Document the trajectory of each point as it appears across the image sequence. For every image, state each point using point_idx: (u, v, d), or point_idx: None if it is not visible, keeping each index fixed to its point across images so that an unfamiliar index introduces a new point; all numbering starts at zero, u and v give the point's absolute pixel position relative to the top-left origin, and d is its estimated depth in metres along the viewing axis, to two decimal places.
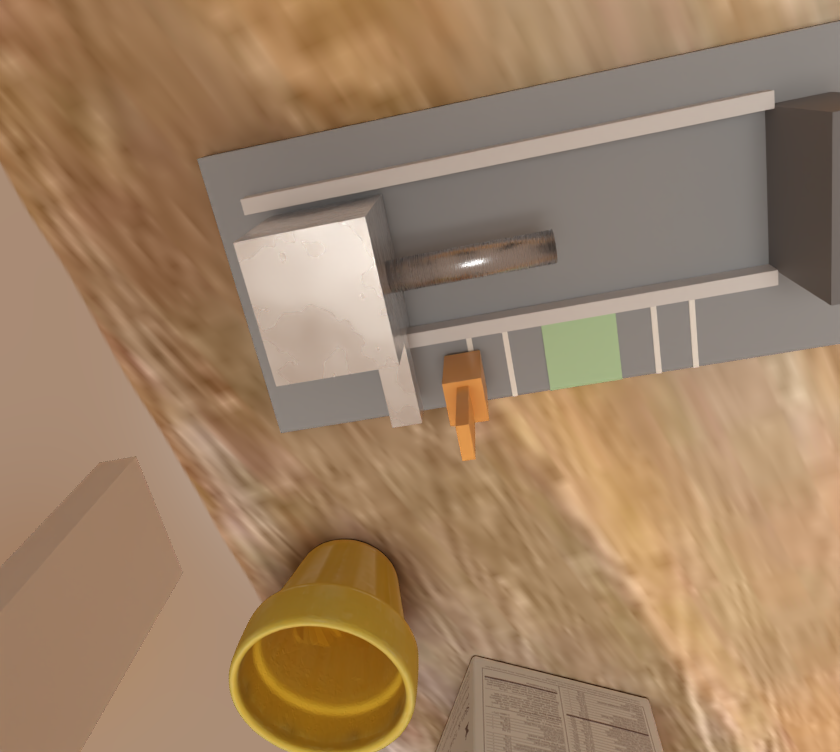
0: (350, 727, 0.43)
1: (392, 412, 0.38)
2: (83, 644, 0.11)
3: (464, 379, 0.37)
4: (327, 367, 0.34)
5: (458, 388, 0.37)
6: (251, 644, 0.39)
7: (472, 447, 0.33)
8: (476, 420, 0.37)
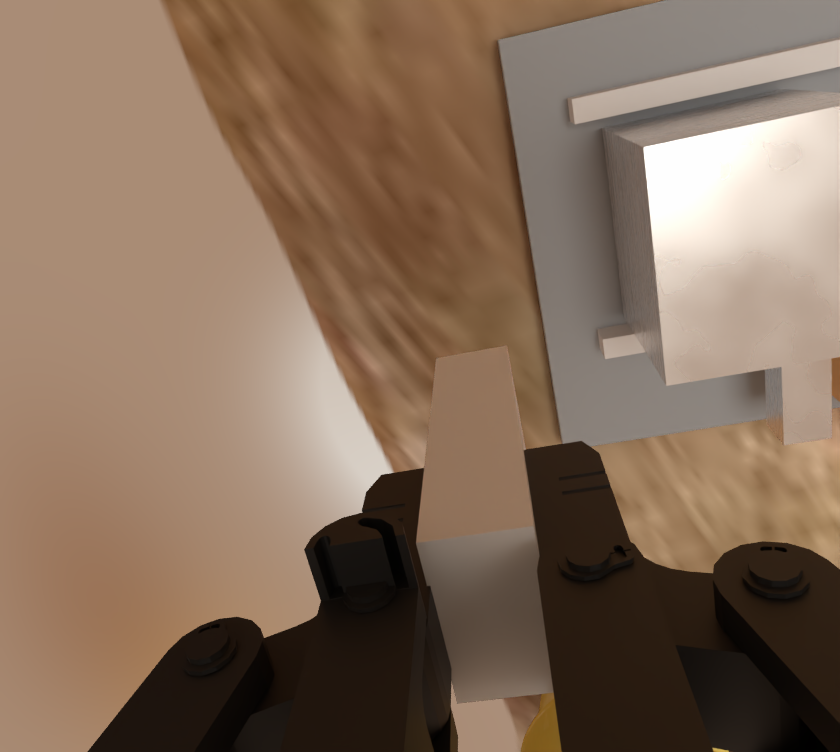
0: None
1: (788, 422, 0.25)
2: None
3: None
4: (758, 354, 0.21)
5: None
6: None
7: None
8: None
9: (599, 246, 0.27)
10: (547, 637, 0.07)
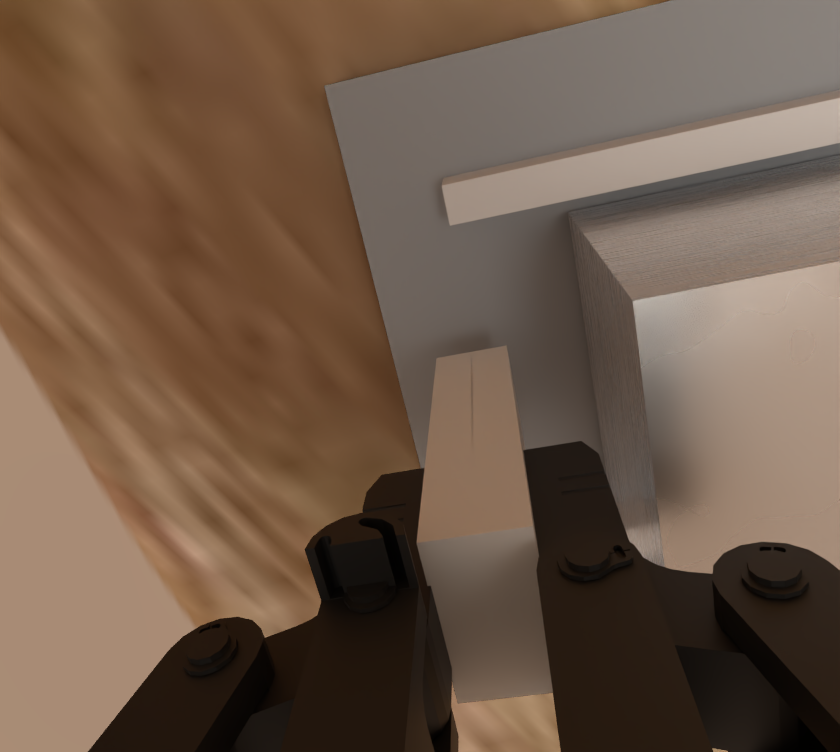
0: None
1: None
2: None
3: None
4: None
5: None
6: None
7: None
8: None
9: None
10: (546, 637, 0.07)
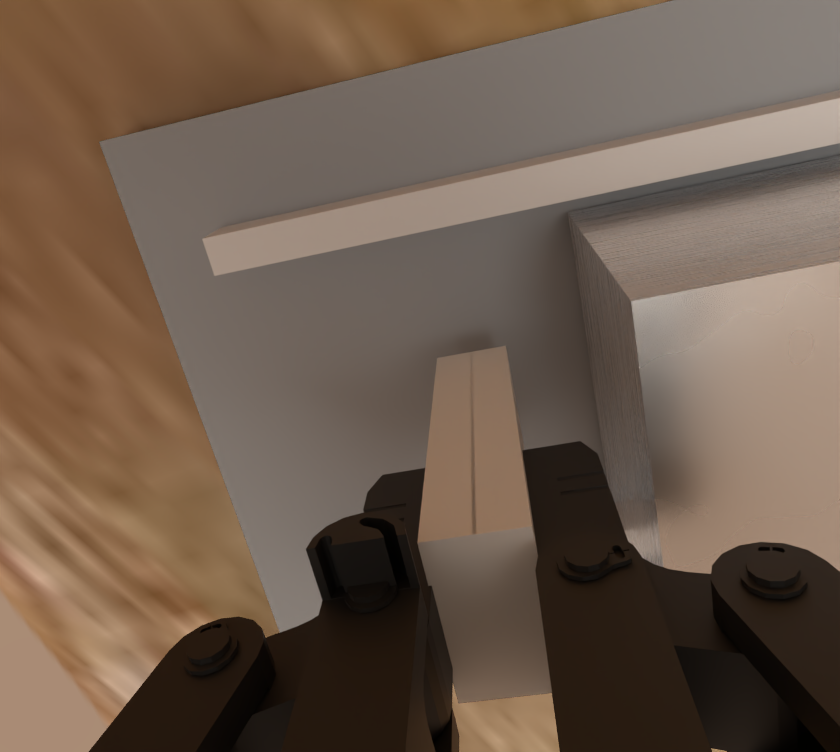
0: None
1: None
2: None
3: None
4: None
5: None
6: None
7: None
8: None
9: (307, 437, 0.18)
10: (545, 637, 0.07)
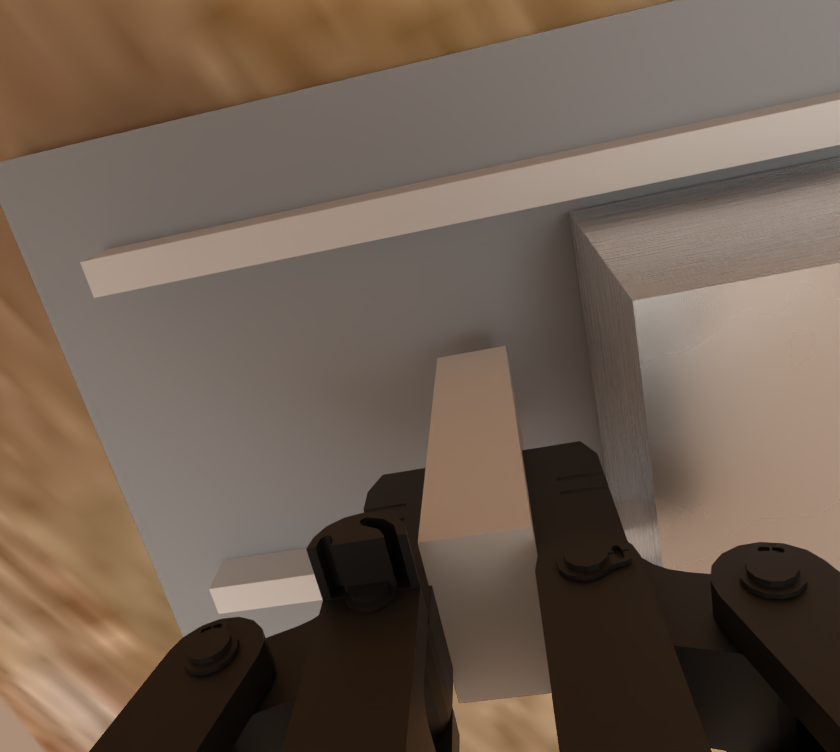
0: None
1: None
2: None
3: None
4: None
5: None
6: None
7: None
8: None
9: (201, 453, 0.18)
10: (545, 637, 0.07)
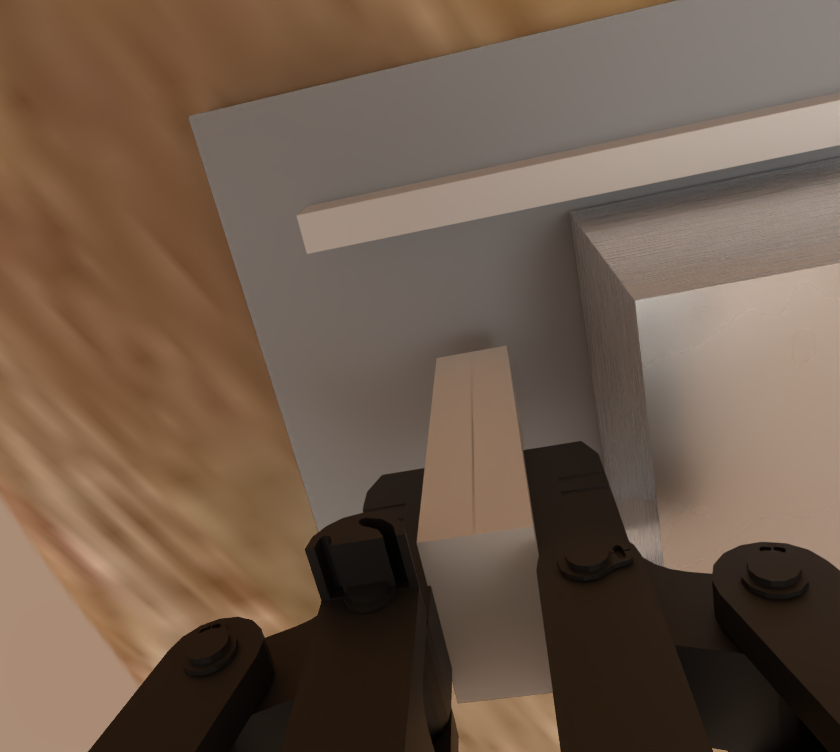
0: None
1: None
2: None
3: None
4: None
5: None
6: None
7: None
8: None
9: (385, 422, 0.18)
10: (546, 637, 0.07)
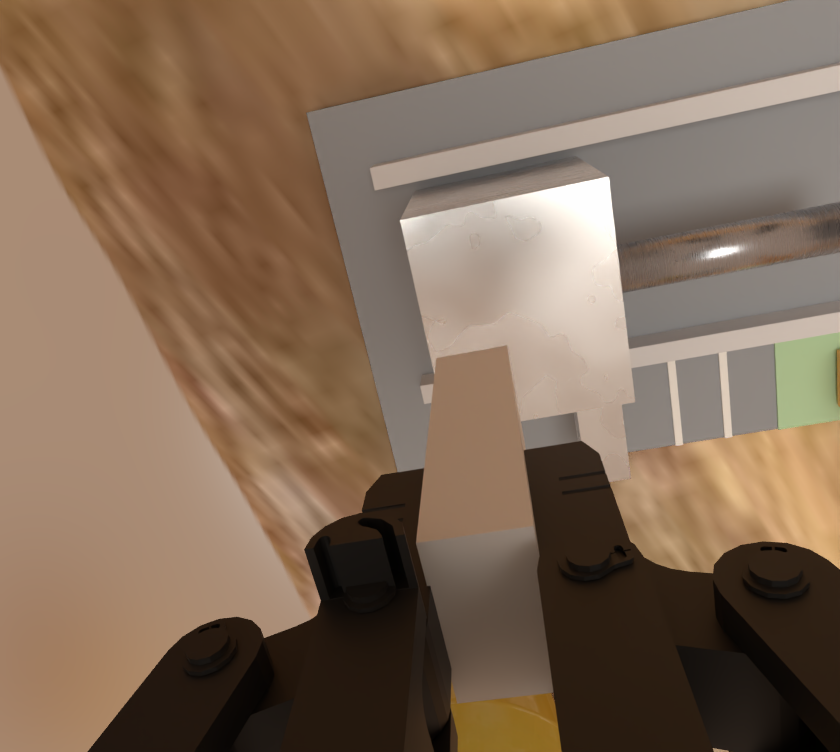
0: None
1: None
2: None
3: None
4: (526, 405, 0.23)
5: None
6: None
7: None
8: None
9: (416, 299, 0.29)
10: (547, 637, 0.07)
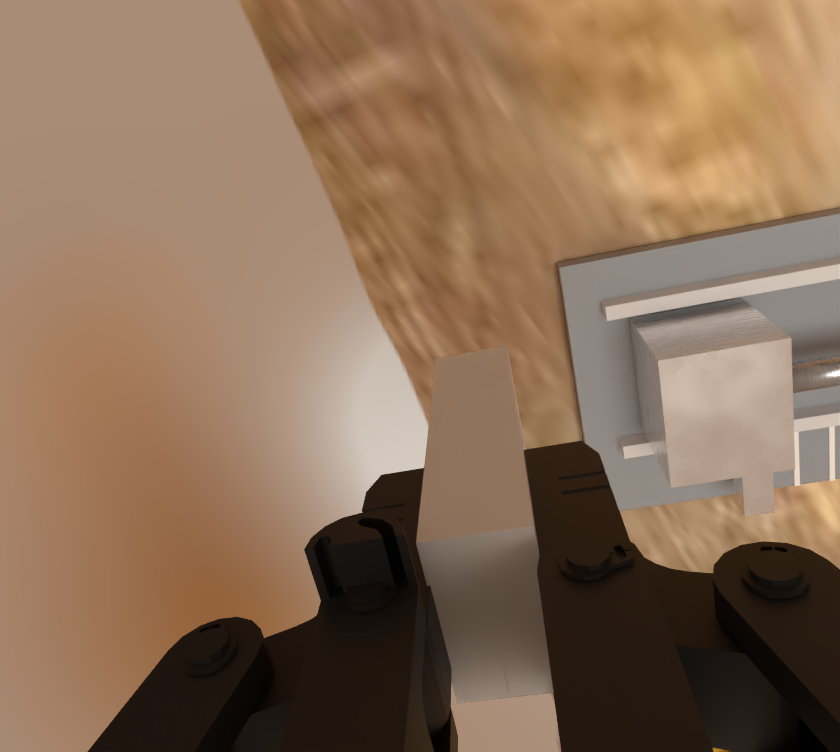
0: None
1: (747, 502, 0.40)
2: None
3: None
4: (724, 470, 0.36)
5: None
6: None
7: None
8: None
9: (620, 387, 0.42)
10: (547, 637, 0.07)
